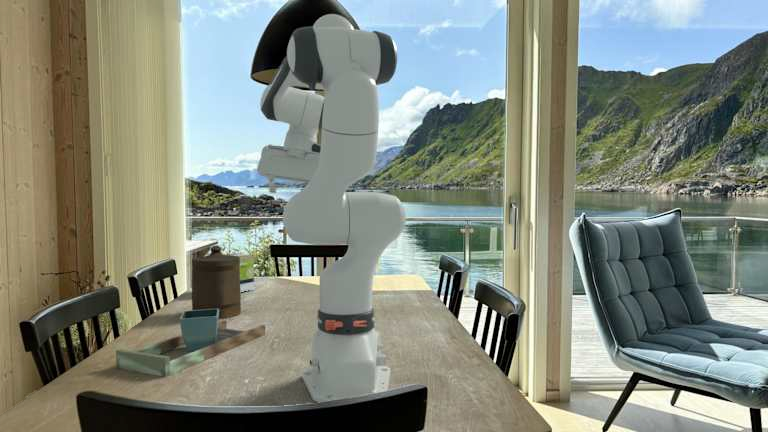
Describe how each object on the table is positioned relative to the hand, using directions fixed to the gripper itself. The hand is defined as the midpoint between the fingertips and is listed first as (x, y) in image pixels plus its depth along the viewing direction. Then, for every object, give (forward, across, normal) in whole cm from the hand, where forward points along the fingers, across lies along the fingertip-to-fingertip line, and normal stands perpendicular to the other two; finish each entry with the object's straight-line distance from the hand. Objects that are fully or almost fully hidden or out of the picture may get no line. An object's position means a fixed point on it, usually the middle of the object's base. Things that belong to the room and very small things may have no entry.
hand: (288, 194), depth 146 cm
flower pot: (+44, -12, -4) cm, 46 cm away
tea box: (+24, -33, +65) cm, 76 cm away
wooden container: (+34, -24, +31) cm, 52 cm away
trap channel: (+44, -12, -4) cm, 46 cm away
